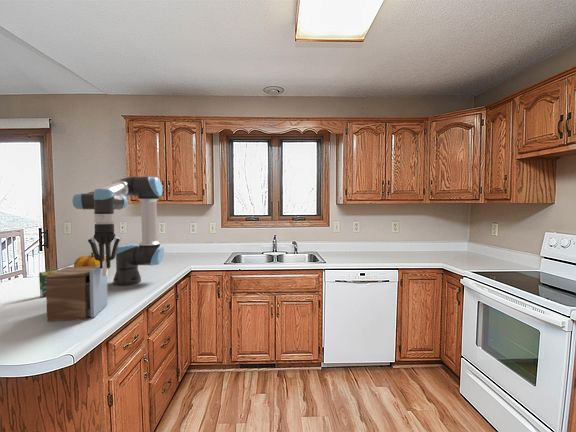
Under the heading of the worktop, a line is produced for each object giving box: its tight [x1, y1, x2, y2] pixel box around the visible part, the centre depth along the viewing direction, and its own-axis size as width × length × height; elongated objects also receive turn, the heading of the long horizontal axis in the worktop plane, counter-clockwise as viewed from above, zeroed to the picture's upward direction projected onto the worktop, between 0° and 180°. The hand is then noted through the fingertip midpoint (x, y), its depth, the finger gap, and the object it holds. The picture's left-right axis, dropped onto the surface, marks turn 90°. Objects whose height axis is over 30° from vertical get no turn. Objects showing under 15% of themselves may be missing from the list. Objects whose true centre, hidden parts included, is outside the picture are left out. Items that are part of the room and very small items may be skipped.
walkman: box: [86, 283, 90, 309], centre depth 134 cm, size 8×3×12 cm, turn 94°
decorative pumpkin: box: [73, 252, 111, 271], centre depth 203 cm, size 20×22×15 cm
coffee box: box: [38, 268, 60, 298], centre depth 158 cm, size 8×3×13 cm, turn 150°
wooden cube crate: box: [45, 266, 97, 323], centre depth 133 cm, size 17×14×19 cm
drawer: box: [87, 265, 108, 318], centre depth 134 cm, size 17×14×20 cm
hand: (105, 275), depth 136 cm, fingers closed
